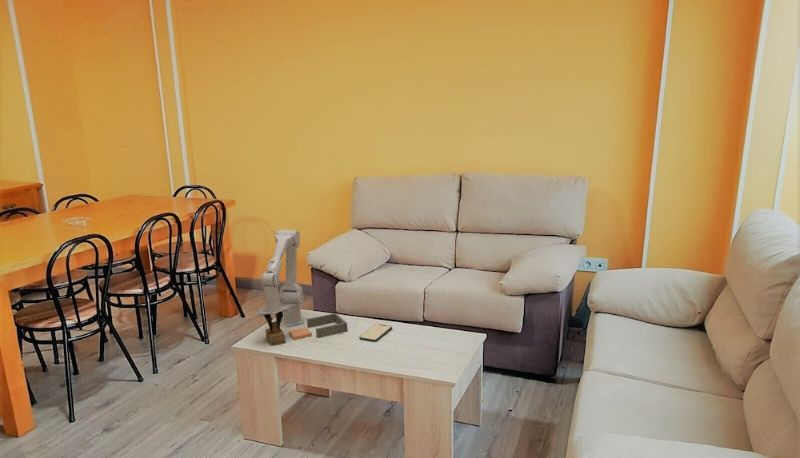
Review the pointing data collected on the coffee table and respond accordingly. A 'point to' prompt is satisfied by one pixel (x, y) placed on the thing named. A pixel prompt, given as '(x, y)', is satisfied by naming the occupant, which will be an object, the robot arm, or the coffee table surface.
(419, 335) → the coffee table surface
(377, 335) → the phone case
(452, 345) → the coffee table surface
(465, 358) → the coffee table surface
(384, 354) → the coffee table surface
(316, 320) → the frame
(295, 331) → the tile
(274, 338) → the pusher
